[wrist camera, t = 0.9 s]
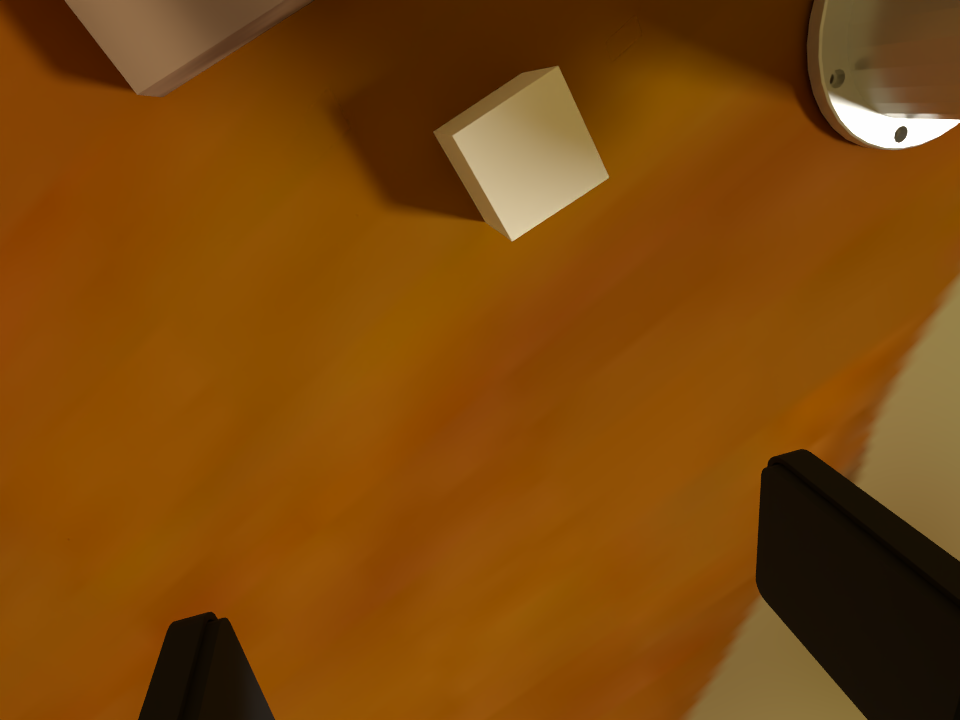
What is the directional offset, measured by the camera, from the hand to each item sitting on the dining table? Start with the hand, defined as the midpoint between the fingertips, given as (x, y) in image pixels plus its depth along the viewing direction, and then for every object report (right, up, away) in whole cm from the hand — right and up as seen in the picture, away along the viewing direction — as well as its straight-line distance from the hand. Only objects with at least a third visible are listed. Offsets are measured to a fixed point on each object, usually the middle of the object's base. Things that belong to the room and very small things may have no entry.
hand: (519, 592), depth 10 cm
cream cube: (0, +14, +19) cm, 24 cm away
